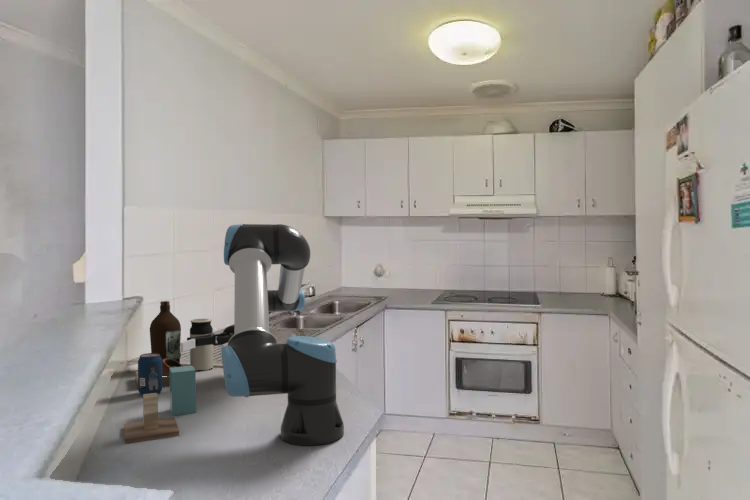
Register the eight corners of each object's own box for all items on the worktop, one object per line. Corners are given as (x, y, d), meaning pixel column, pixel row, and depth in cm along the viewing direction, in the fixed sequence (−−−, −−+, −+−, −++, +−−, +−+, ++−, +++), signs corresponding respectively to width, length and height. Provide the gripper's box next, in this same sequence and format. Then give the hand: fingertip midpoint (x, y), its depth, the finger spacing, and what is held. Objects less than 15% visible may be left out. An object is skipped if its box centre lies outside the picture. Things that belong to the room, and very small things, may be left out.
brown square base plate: (179, 435, 134) (178, 398, 134) (124, 443, 129) (124, 405, 129) (174, 420, 145) (173, 386, 145) (123, 427, 140) (123, 392, 140)
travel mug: (204, 372, 199) (203, 321, 199) (185, 370, 202) (184, 320, 201) (217, 367, 206) (216, 318, 206) (199, 365, 209) (199, 317, 209)
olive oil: (143, 371, 200) (142, 302, 200) (166, 365, 210) (165, 299, 209) (165, 374, 196) (164, 303, 195) (187, 368, 205) (186, 300, 205)
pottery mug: (165, 377, 194) (176, 356, 194) (179, 393, 189) (190, 372, 189) (135, 375, 184) (147, 354, 184) (149, 392, 179) (161, 370, 179)
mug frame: (193, 383, 183) (193, 374, 183) (137, 389, 176) (137, 380, 176) (188, 373, 197) (187, 365, 197) (135, 379, 190) (135, 370, 189)
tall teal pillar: (196, 412, 152) (195, 370, 152) (172, 415, 150) (171, 372, 149) (193, 406, 158) (192, 365, 158) (170, 409, 155) (169, 367, 155)
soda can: (149, 389, 176) (149, 351, 176) (167, 391, 174) (166, 353, 173) (133, 395, 170) (132, 356, 169) (151, 397, 167) (150, 357, 167)
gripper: (272, 348, 181) (240, 363, 161) (204, 344, 188) (165, 358, 167) (272, 325, 181) (240, 337, 160) (204, 322, 187) (164, 334, 167)
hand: (202, 348), depth 164 cm, fingers open, 13 cm apart
